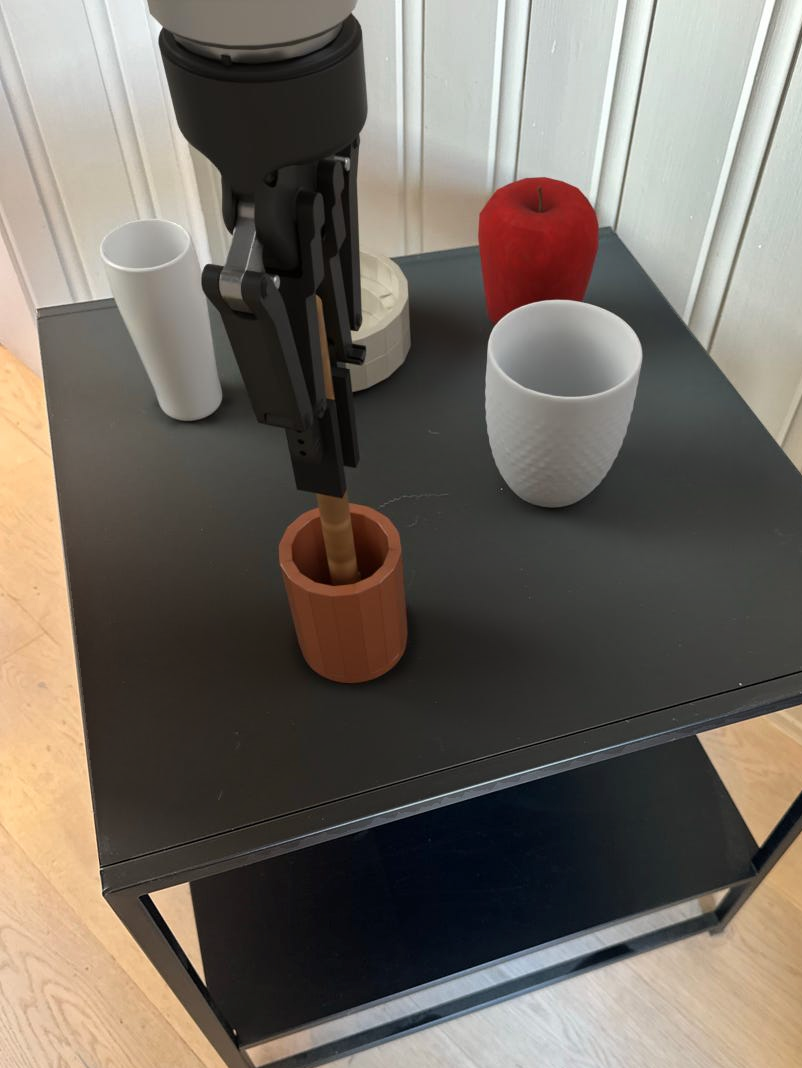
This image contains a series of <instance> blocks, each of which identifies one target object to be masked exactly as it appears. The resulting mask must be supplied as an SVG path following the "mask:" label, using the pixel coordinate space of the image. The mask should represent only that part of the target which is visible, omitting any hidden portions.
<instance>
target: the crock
mask: <svg viewBox="0 0 802 1068" xmlns="http://www.w3.org/2000/svg"><path fill="white" fill-rule="evenodd" d="M349 509H350V516H351V524H352V531H353V539H354V546H355V554H356V561H357V569H358V572H360V573H361V580H362V581H360V582H358V583H355V584H350V585H341V586H332V582H331V577H330V571H329V565H328V559H327V554H326V548H325V542H324V536H323V530H322V525H321V519H320V513H319V507H318V506H317V507H315V508H313V509H310V510H308V511H306V512H303V513H302V514H300V516H298V517H297V518H296V519H295V520H294V521H292V523H290V524H289V525H288V526H287V528H286V529H285V532H284V534H283V536H282V538H281V540H280V542H279V545H278V558H279V560H278V561H279V566H280V570H281V575H282V578H283V583H284V587H285V591H286V595H287V600H288V605H289V609H290V613H291V616H292V617H291V618H292V621H293V625H294V629H295V633H296V637H297V641H298V647H299V648H300V651H301V654H302V657H303V658H304V660H305V662H306V664H307V665H308V666H309V667H310V668H311V669H312V671H314V672H315V673H317V674H318V675H320V676H321V677H323V678H326V679H327V680H330V681H334V682H337V683H343V684H359V683H364V682H369V681H372V680H375V679H377V678H380V677H381V676H383V675H385V674H387V672H389V671H391V670H392V669H393V668H394V667H395V666H396V665H397V664H398V662H399V661H400V660H401V658H402V656H403V655H404V653H405V651H406V649H407V648H406V647H407V644H408V633H409V632H408V619H407V618H408V617H407V608H406V607H407V605H406V604H407V603H406V591H405V579H404V565H403V563H404V562H403V552H402V551H403V550H402V549H403V548H402V543H401V536H400V532H399V530H398V529H397V528H396V526H395V525H394V523H393V522H392V521H391V519H390V518H389V517H387V516H386V515H384V514H383V513H381V512H379V511H377V510H376V509H374V508H372V507H370V506H367V505H361V504H358V503H351V502H349Z"/></svg>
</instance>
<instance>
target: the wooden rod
mask: <svg viewBox="0 0 802 1068" xmlns="http://www.w3.org/2000/svg"><path fill="white" fill-rule="evenodd" d="M316 302H317V312H318V322H319V332H320V343H321V353H322V363H323V373H324V383H325V393H326V398H328V399H334V400H335V397H334V390H333V382H332V375H331V367H330V360H329V352H328V345H327V337H326V330H325V322H324V315H323V307H322V301H321V299H320V298H319V296H317V295H316ZM335 405H336V404H335ZM336 413H337V412H336ZM337 420H338V419H337ZM338 428H339V427H338ZM339 435H340V434H339ZM340 443H341V442H340ZM341 450H342V449H341ZM342 458H343V457H342ZM343 465H344V464H343ZM345 480H346V478H345ZM346 481H347V480H346ZM315 495H316V501H317V508H318V507H319V513H320V519H321V525H322V530H323V536H324V542H325V548H326V554H327V559H328V565H329V571H330V577H331V582H332V586H341V585H350V584H355V583H358V582H360V581H362V580H361V573H360V572H358V569H357V561H356V554H355V546H354V539H353V531H352V524H351V516H350V509H349V503H350V502H349V496H348V495H349V494H348V489H347V490H346V492H345V494H344V496H343V499H342V498H337V497H332V496H327V495H322V494H317V493H315Z"/></svg>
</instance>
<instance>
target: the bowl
mask: <svg viewBox="0 0 802 1068" xmlns="http://www.w3.org/2000/svg"><path fill="white" fill-rule="evenodd" d="M359 250H360V278H361V305H362V325H361V327H360V329H359V331H357V332H356V331H351V337H352V343H353V344H358V345H364V346H366V357H365V361H364V363H363V365H362V366H360V365H354V364H349V363H346V369H350V376H351V384H352V393H355V392H359V391H362V390H366V389H369V388H371V387H373V386H374V385H377V384H378V383H380V382H382V381H384V380H386V379H388V378H389V377H390V376H392V374H394V372H396V371H397V370H398V369H399V368H400V367H401V366H402V365H403V364H404V362H405V361H406V358H407V355H408V354H409V351H410V349H411V345H412V344H411V343H412V342H411V324H410V323H411V322H410V302H409V301H410V300H409V281H408V279H407V277H406V276H405V274H404V271H402V269H401V267H400V266H399V264H397V263H396V262H395V261H393V260H392V259H390V258H389V257H388V256H387V255H385V254H384V253H383V252H380V251H378V250H375V249H373V248H370V247H368V246H365V245H363V244H359Z"/></svg>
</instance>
